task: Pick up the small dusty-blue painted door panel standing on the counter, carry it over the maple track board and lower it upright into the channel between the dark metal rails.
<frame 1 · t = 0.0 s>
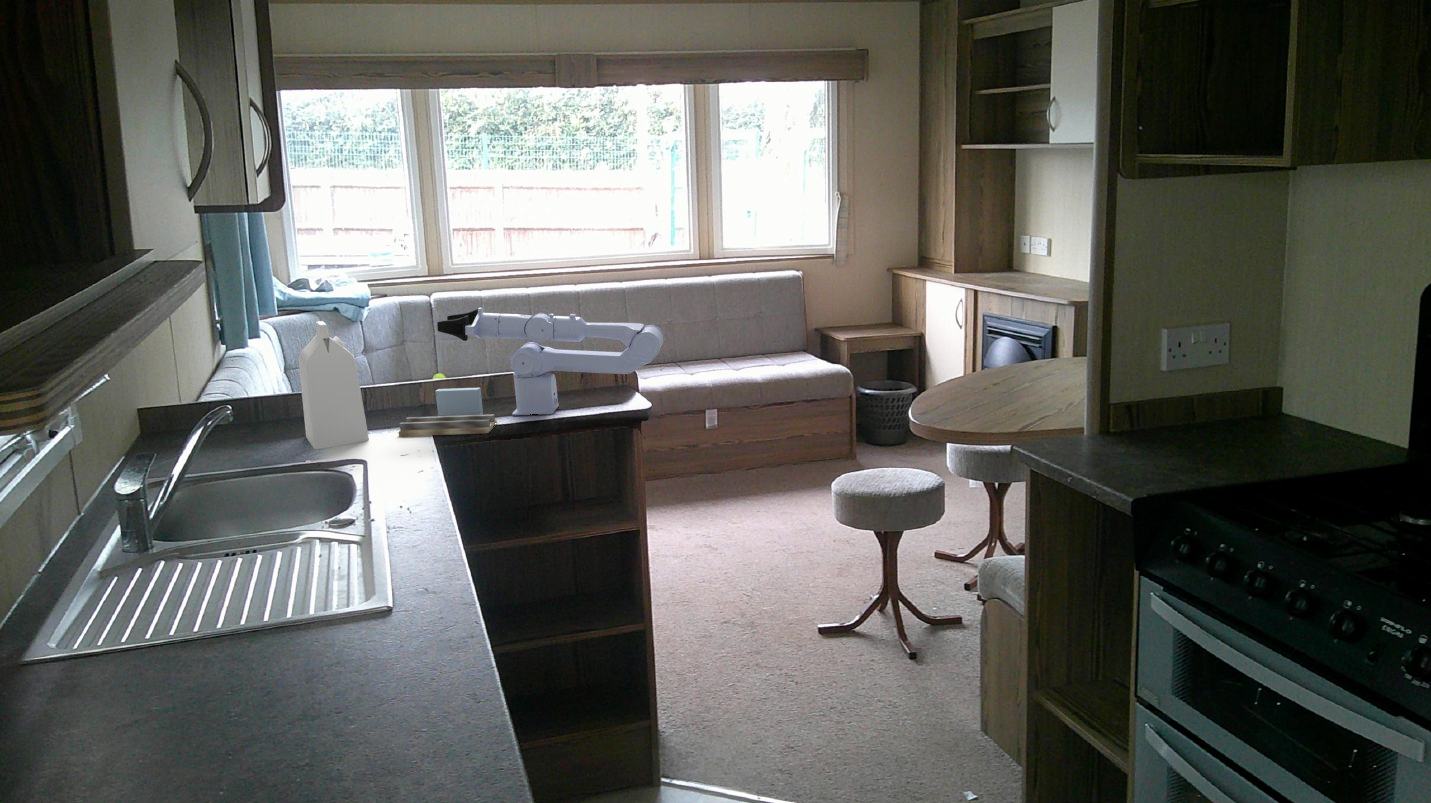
hand: (442, 323, 264), 22 cm above the worktop, tool horizontal, fingers open, 7 cm apart
door panel: (461, 418, 265), on the worktop
track board: (448, 429, 255), on the worktop
milk: (337, 439, 253), on the worktop
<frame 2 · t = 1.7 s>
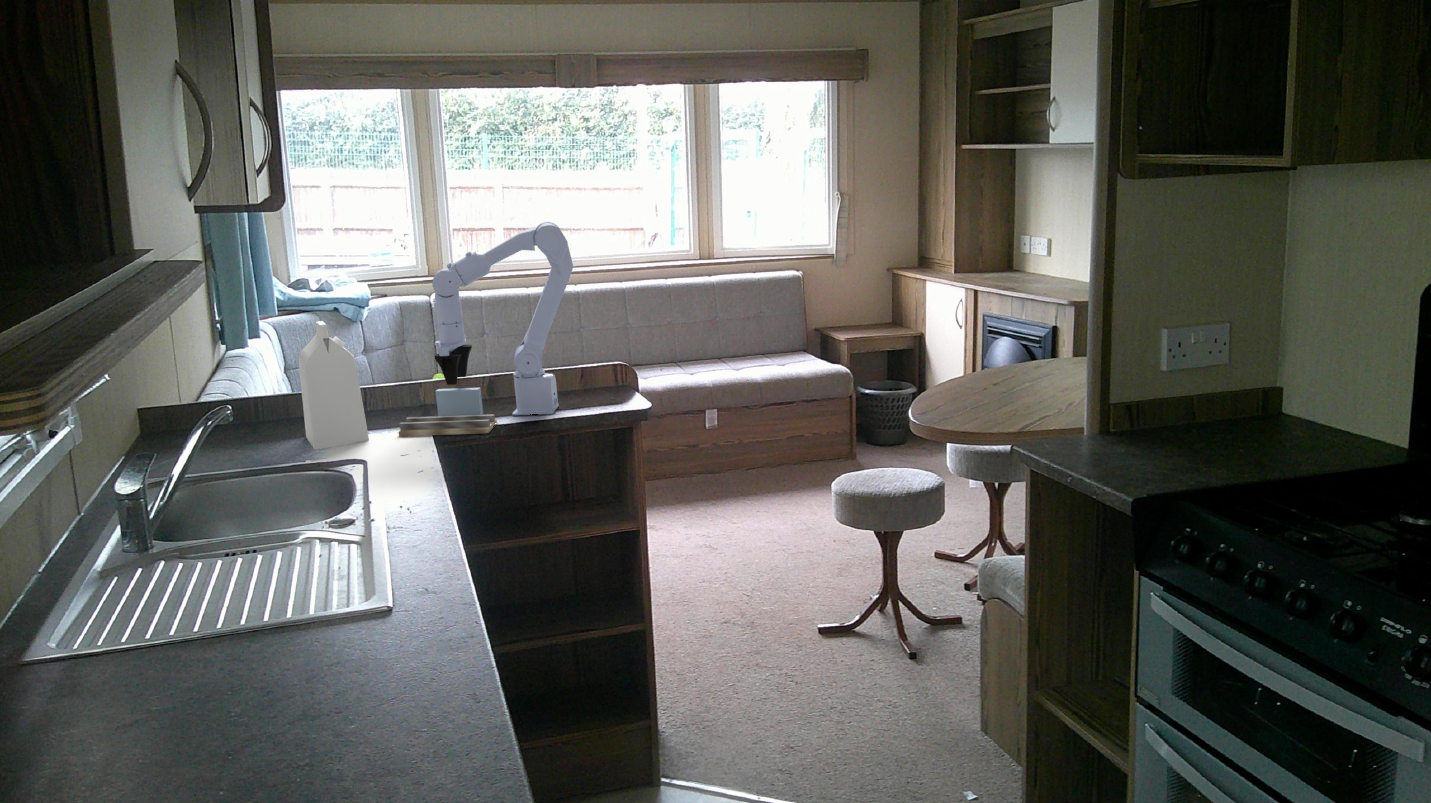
hand: (456, 380, 263), 9 cm above the worktop, tool pointing down, fingers open, 7 cm apart
nothing on the worktop moved.
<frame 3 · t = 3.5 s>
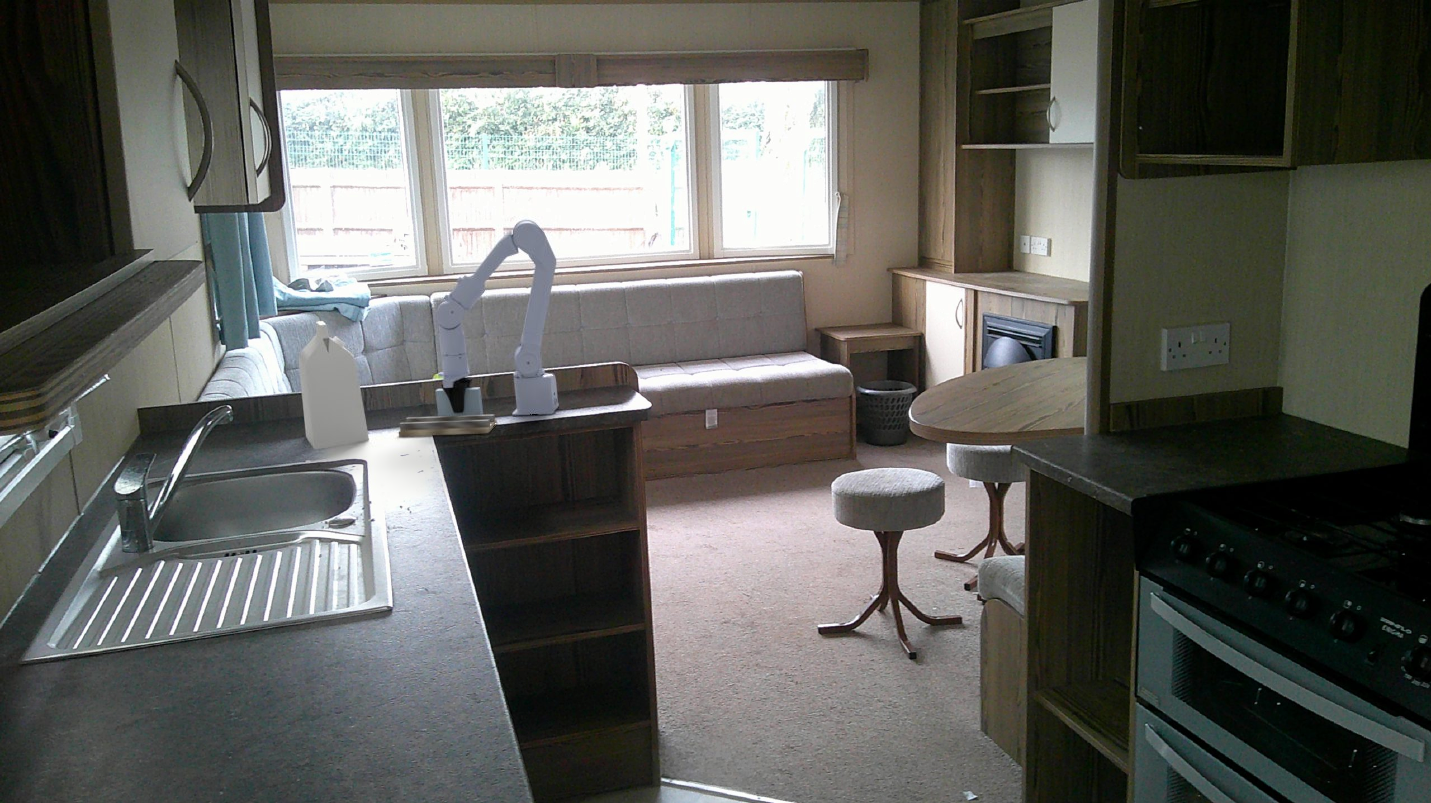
hand: (460, 411, 264), 2 cm above the worktop, tool pointing down, fingers closed on door panel, 2 cm apart
door panel: (461, 418, 265), on the worktop, touching gripper
everything else where it was.
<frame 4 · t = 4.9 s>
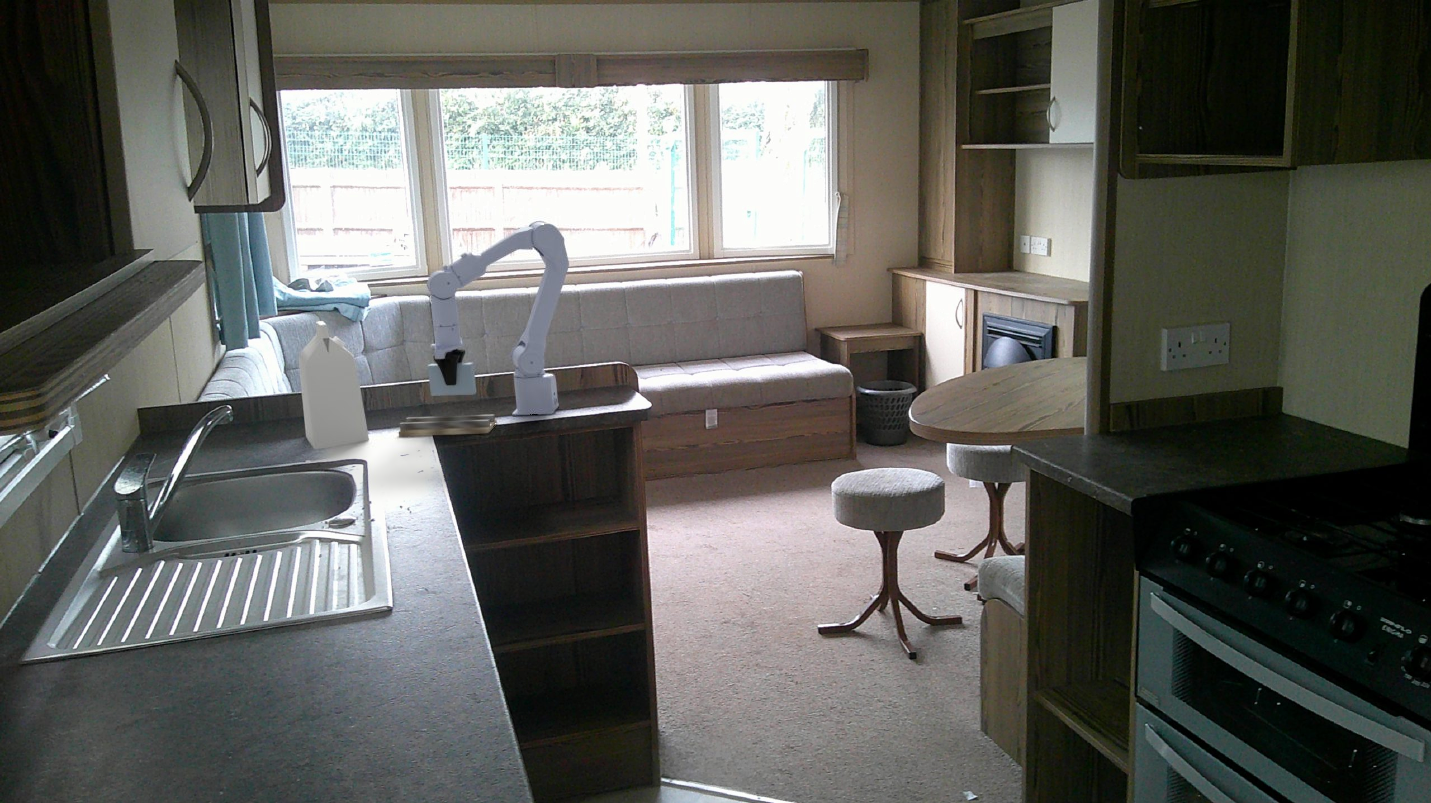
hand: (452, 383, 260), 9 cm above the worktop, tool pointing down, fingers closed on door panel
door panel: (453, 394, 260), point 6 cm above the worktop, touching gripper
everything else where it was.
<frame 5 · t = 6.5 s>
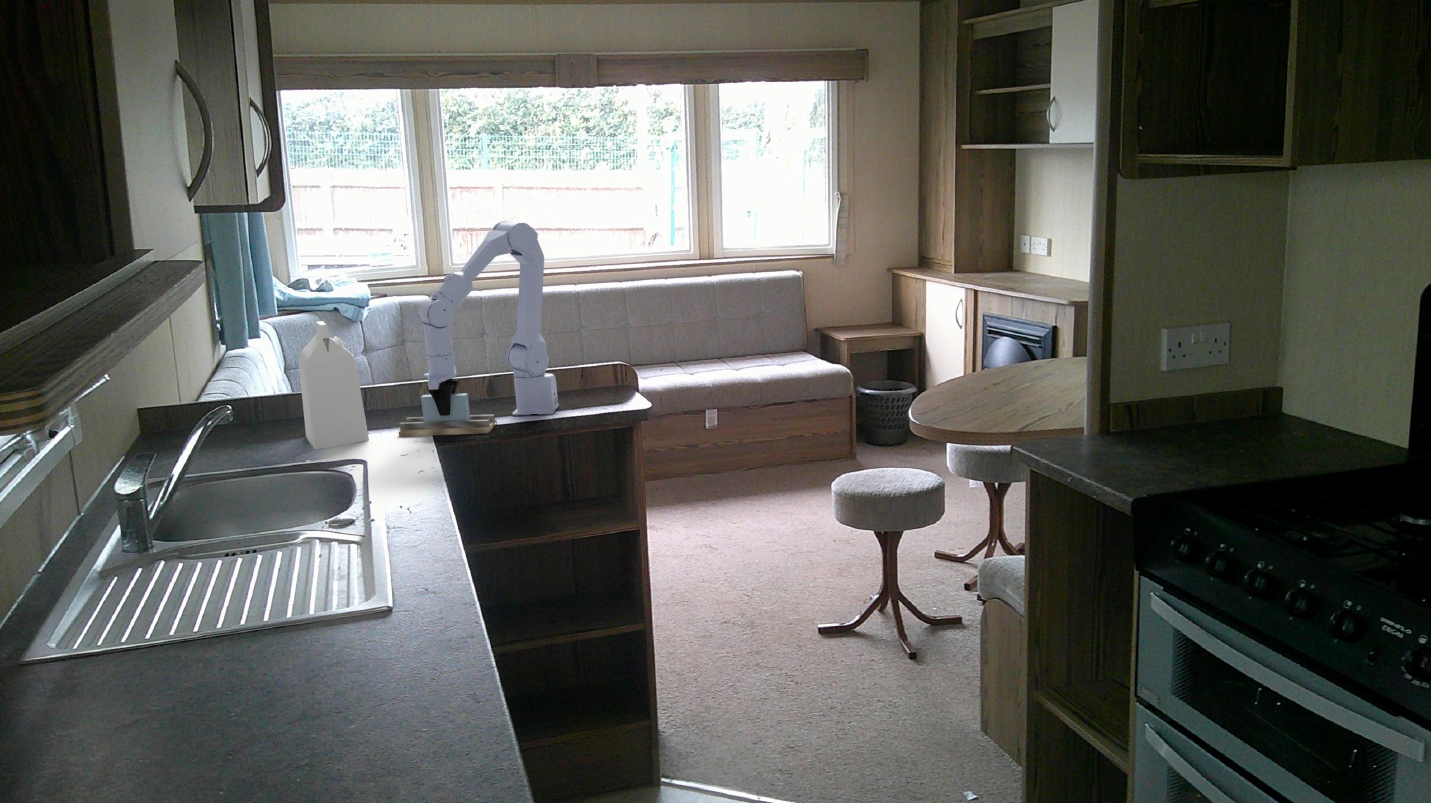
hand: (446, 413, 254), 4 cm above the worktop, tool pointing down, fingers closed on door panel, 2 cm apart
door panel: (447, 425, 255), point 1 cm above the worktop, touching gripper, track board
everything else where it was.
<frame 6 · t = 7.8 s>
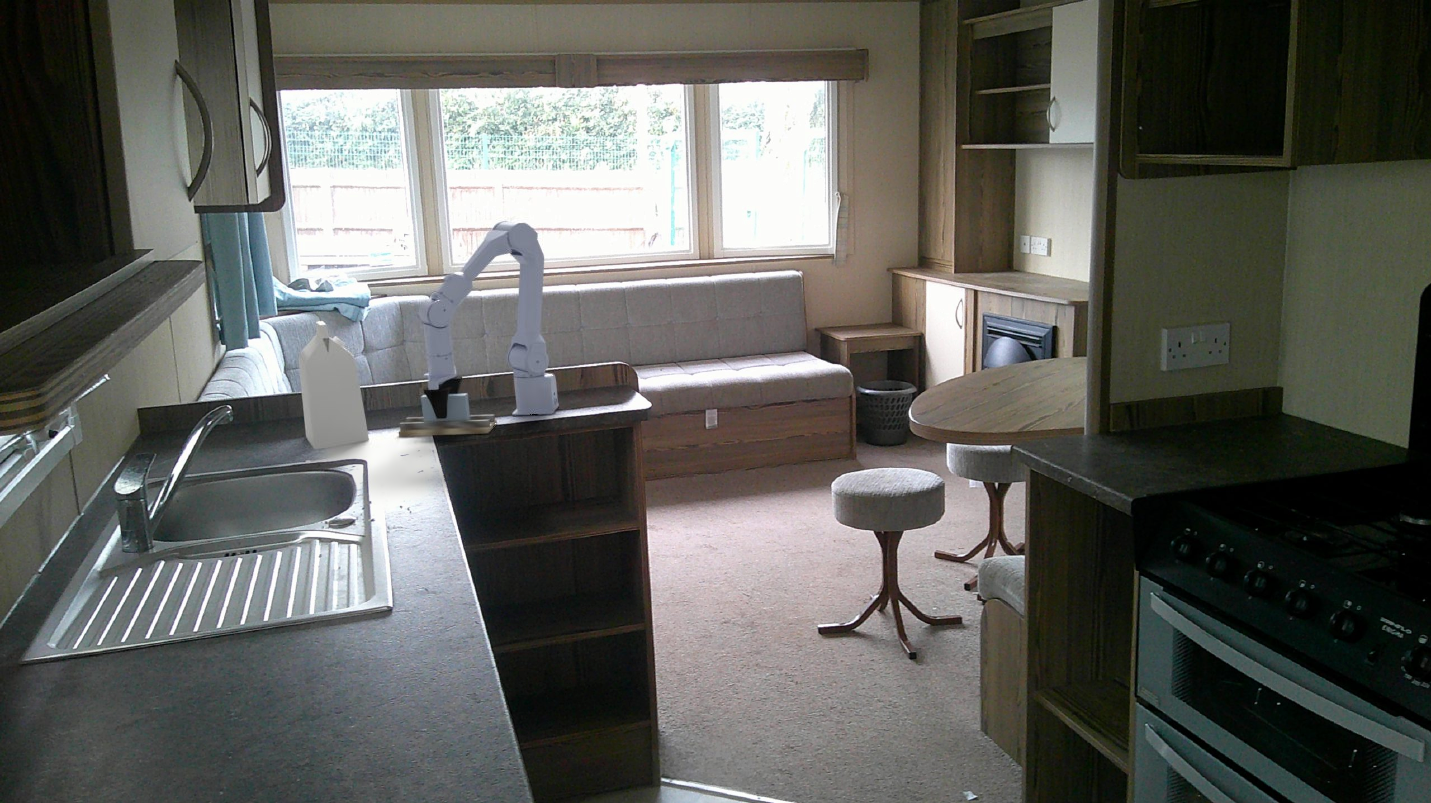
hand: (446, 413, 254), 4 cm above the worktop, tool pointing down, fingers open, 7 cm apart
door panel: (447, 425, 255), point 1 cm above the worktop, touching track board
everything else where it was.
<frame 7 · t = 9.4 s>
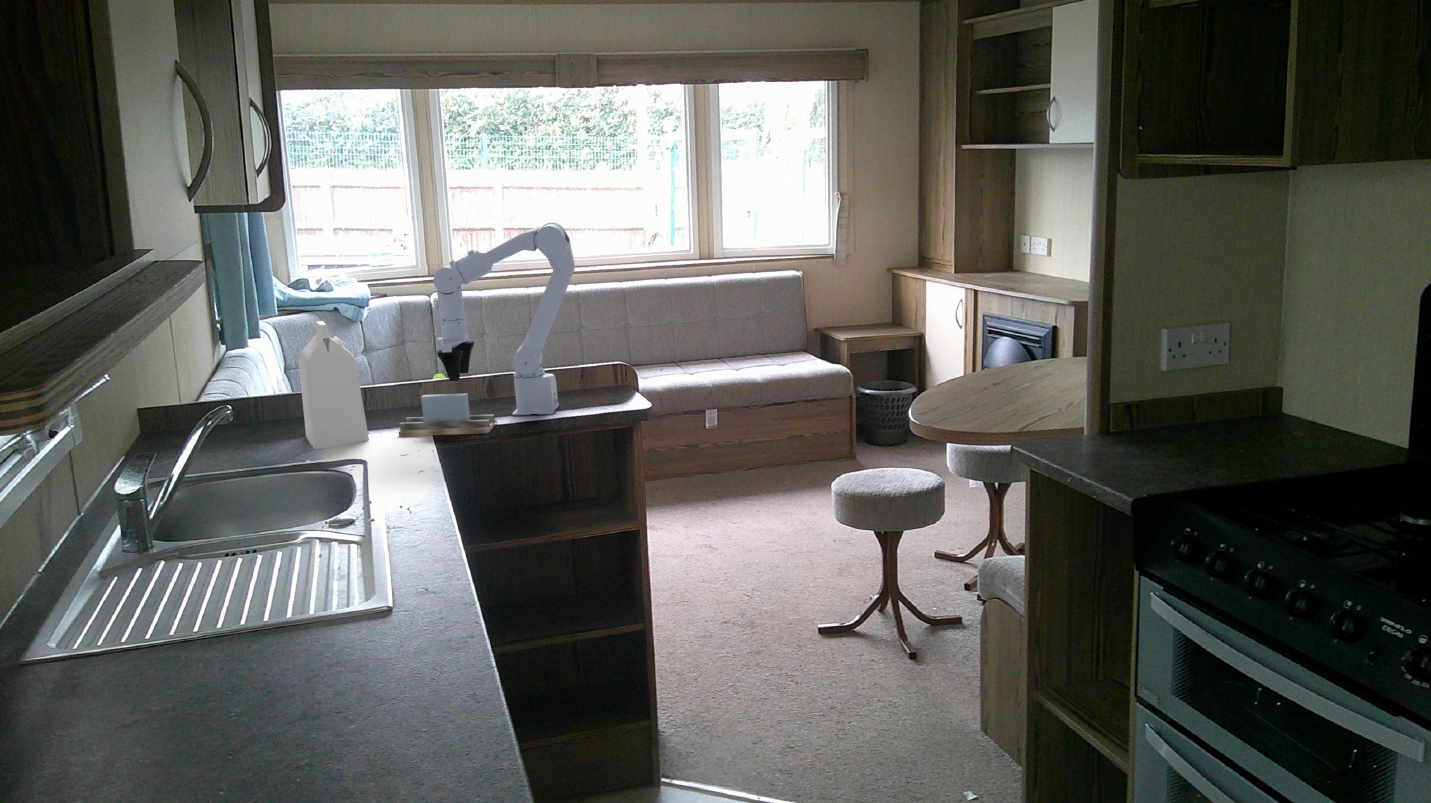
hand: (459, 376, 264), 9 cm above the worktop, tool pointing down, fingers open, 7 cm apart
nothing on the worktop moved.
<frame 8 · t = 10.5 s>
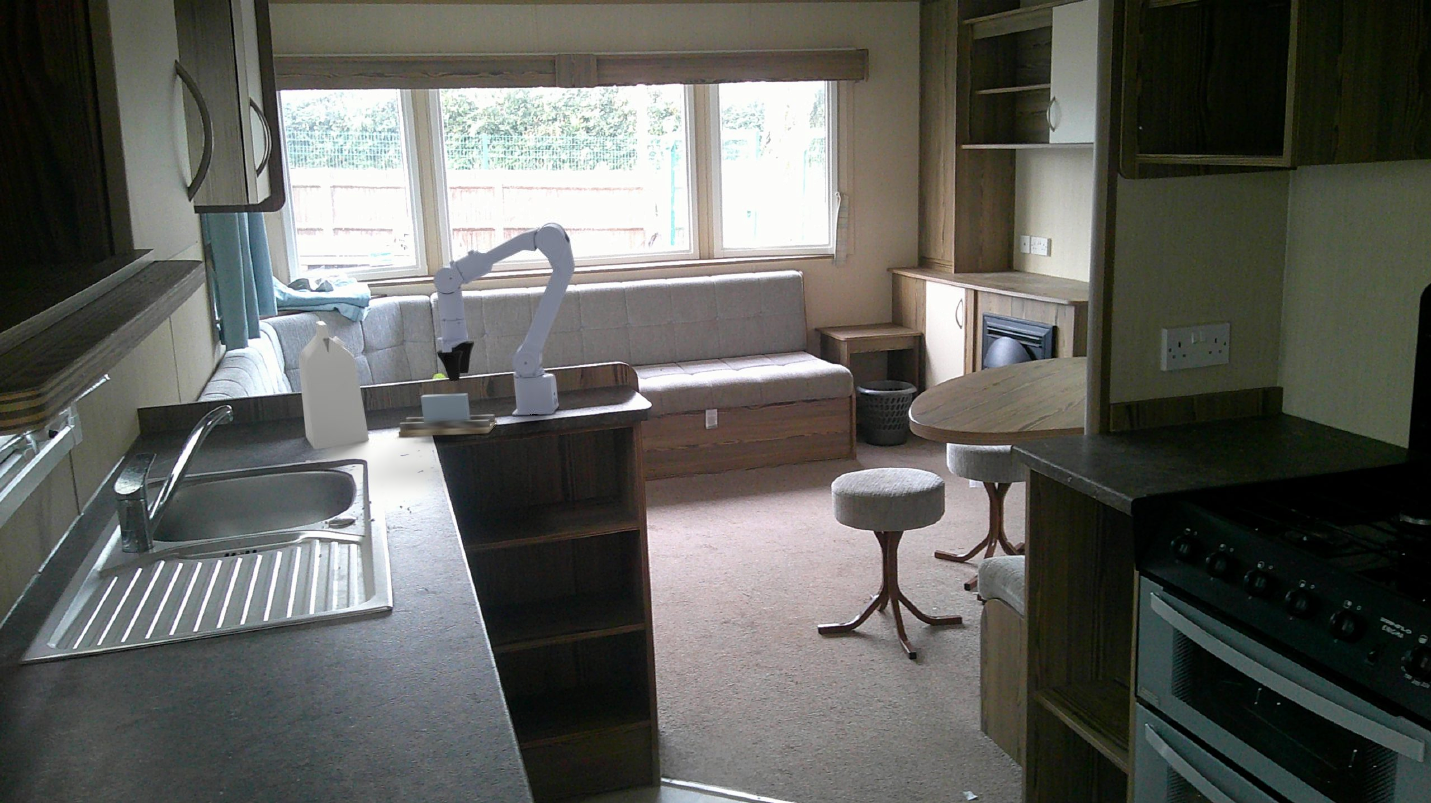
hand: (459, 376, 264), 9 cm above the worktop, tool pointing down, fingers open, 7 cm apart
nothing on the worktop moved.
at the end: door panel inside the target area on the track board (0.1 cm from its centre), point 1.0 cm above the track board's base; door panel tilted 0°; the gripper is holding nothing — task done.
